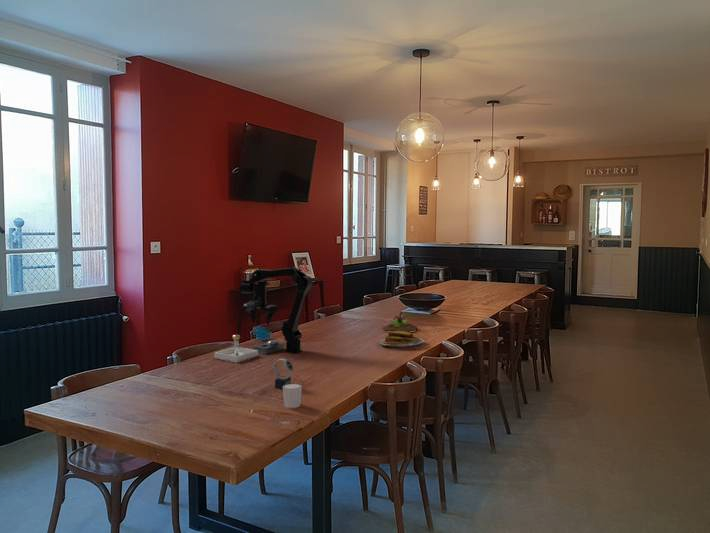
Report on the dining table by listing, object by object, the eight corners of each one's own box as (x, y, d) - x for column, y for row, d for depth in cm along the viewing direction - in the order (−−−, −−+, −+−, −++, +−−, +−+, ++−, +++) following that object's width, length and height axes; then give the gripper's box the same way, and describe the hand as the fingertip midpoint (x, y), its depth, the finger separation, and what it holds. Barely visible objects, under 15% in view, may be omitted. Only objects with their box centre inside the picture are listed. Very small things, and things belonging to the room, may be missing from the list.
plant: (421, 329, 332) (422, 311, 331) (408, 335, 315) (408, 316, 314) (392, 326, 341) (392, 308, 340) (378, 331, 325) (378, 313, 324)
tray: (258, 356, 263) (258, 350, 263) (237, 363, 250) (237, 356, 250) (236, 352, 270) (235, 346, 270) (214, 358, 258) (214, 352, 258)
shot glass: (283, 402, 196) (283, 383, 195) (302, 401, 196) (302, 383, 196) (282, 408, 189) (282, 389, 188) (302, 408, 190) (301, 388, 189)
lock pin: (241, 355, 261) (241, 335, 260) (236, 357, 258) (236, 336, 257) (236, 354, 263) (236, 334, 262) (231, 356, 260) (230, 335, 259)
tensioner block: (283, 348, 278) (283, 340, 278) (265, 354, 266) (265, 346, 266) (271, 347, 282) (271, 339, 282) (253, 352, 271) (253, 344, 270)
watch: (289, 389, 211) (289, 361, 210) (271, 387, 214) (270, 359, 213) (295, 385, 216) (295, 358, 216) (277, 383, 219) (277, 356, 218)
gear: (257, 339, 292) (252, 325, 298) (252, 346, 295) (248, 331, 301) (274, 340, 299) (269, 325, 304) (270, 346, 302) (265, 331, 308)
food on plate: (383, 352, 273) (383, 339, 273) (372, 341, 298) (372, 329, 297) (431, 349, 278) (431, 337, 278) (417, 339, 303) (417, 327, 302)
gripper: (235, 294, 274) (236, 324, 275) (263, 296, 264) (264, 328, 266) (250, 291, 284) (251, 321, 285) (278, 294, 274) (278, 324, 275)
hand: (260, 323), depth 277 cm, fingers open, 9 cm apart
